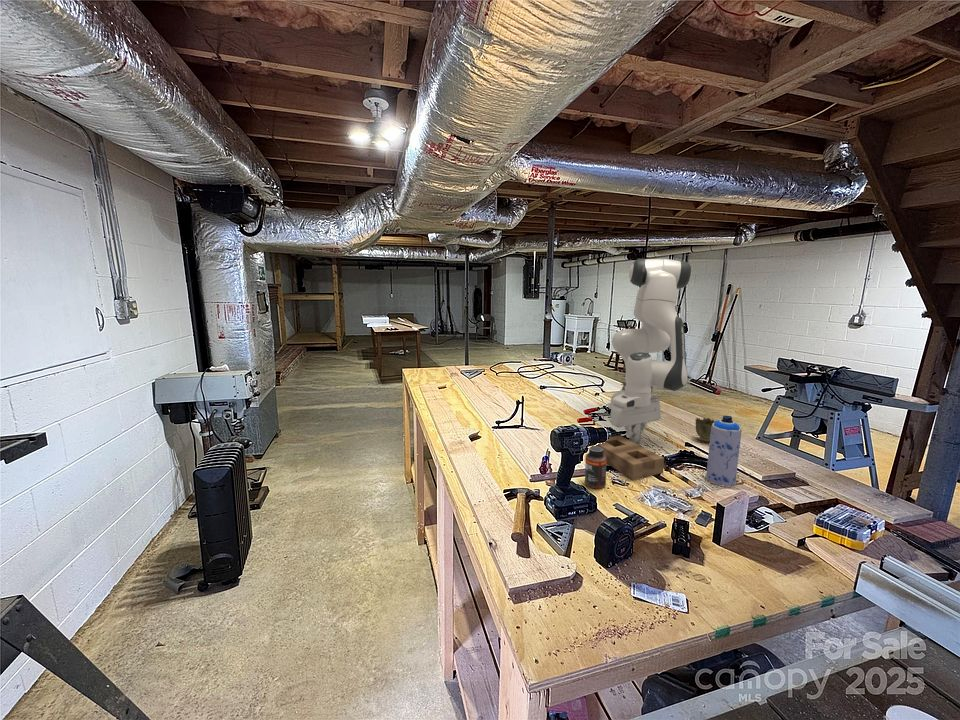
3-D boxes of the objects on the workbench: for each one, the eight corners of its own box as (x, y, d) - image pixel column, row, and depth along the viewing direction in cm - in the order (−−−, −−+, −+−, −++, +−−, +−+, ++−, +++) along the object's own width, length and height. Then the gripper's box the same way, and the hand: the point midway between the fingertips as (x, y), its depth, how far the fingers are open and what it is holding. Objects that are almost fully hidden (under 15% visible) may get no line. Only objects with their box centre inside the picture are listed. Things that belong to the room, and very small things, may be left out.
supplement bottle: (605, 481, 114) (607, 445, 112) (605, 491, 109) (607, 454, 107) (585, 478, 116) (586, 443, 114) (583, 487, 111) (585, 451, 109)
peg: (626, 444, 141) (628, 421, 139) (634, 442, 142) (636, 419, 140) (633, 448, 137) (635, 424, 136) (641, 446, 139) (643, 423, 137)
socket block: (591, 453, 133) (591, 440, 132) (618, 448, 137) (619, 435, 136) (632, 480, 115) (633, 464, 114) (663, 472, 119) (664, 457, 118)
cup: (710, 437, 146) (712, 417, 144) (720, 445, 139) (722, 424, 137) (690, 436, 147) (692, 417, 145) (699, 444, 139) (701, 423, 138)
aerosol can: (734, 477, 115) (742, 414, 112) (737, 489, 109) (745, 422, 105) (704, 471, 119) (711, 410, 115) (705, 483, 112) (712, 418, 108)
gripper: (652, 392, 143) (650, 427, 145) (608, 399, 136) (606, 435, 138) (666, 397, 137) (663, 433, 140) (620, 404, 130) (618, 442, 132)
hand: (634, 434), depth 139 cm, fingers closed on peg, 4 cm apart
